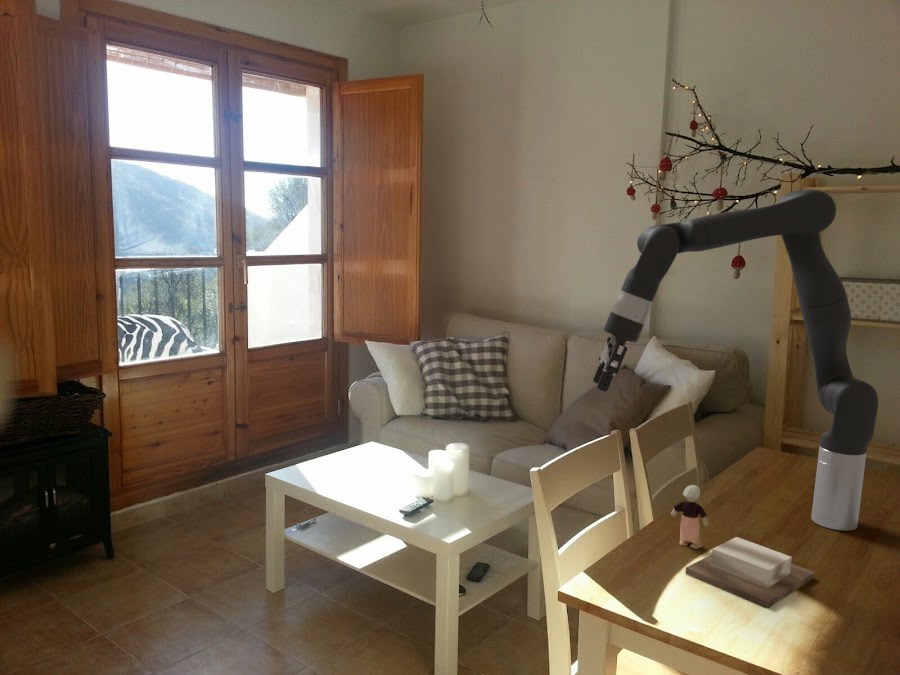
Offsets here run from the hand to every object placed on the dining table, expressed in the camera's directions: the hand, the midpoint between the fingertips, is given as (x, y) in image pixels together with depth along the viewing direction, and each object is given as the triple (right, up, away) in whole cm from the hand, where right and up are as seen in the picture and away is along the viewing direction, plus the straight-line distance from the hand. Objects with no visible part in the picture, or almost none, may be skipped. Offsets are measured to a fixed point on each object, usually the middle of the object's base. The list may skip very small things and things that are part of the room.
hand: (599, 386), depth 159 cm
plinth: (+24, -34, -20) cm, 47 cm away
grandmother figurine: (+17, -32, -6) cm, 37 cm away
